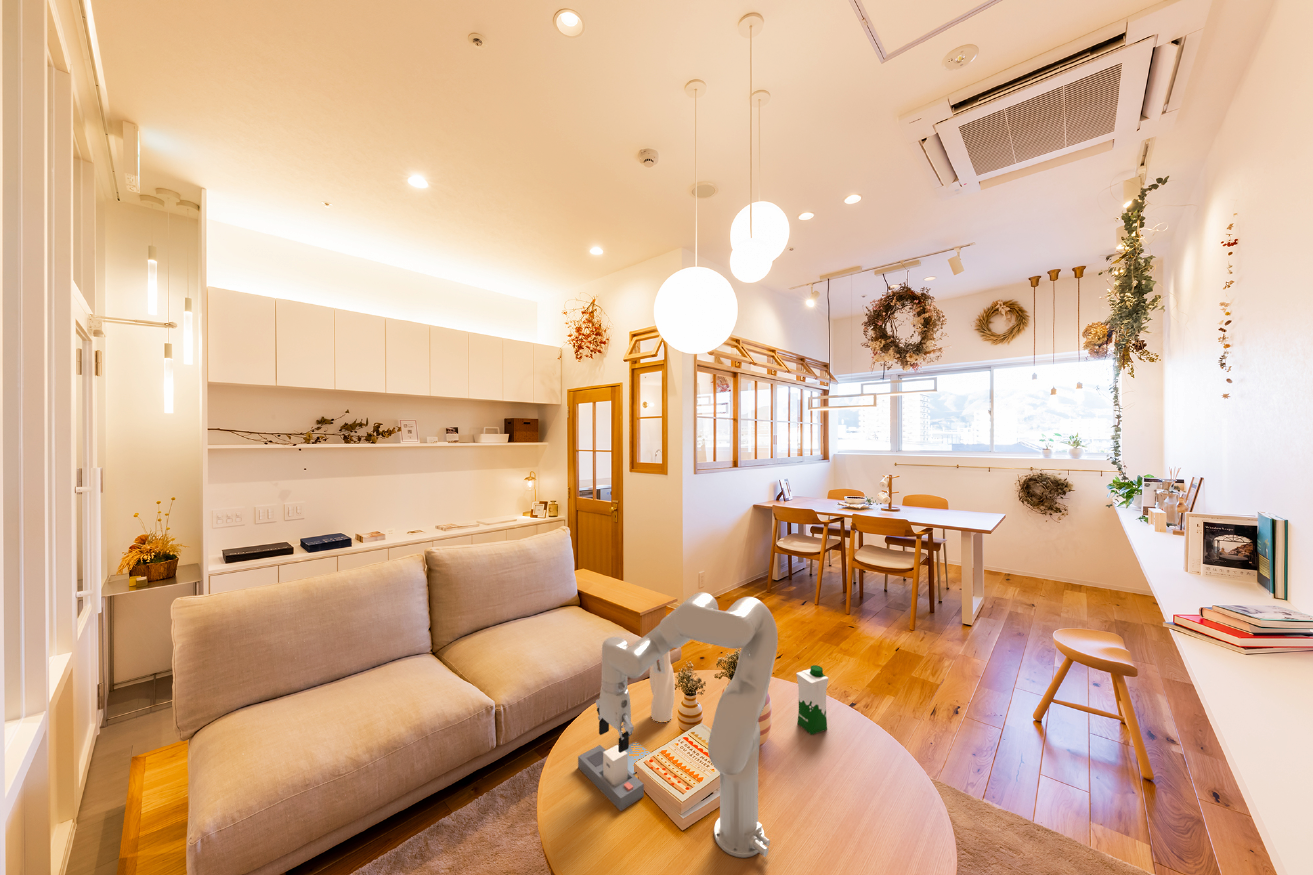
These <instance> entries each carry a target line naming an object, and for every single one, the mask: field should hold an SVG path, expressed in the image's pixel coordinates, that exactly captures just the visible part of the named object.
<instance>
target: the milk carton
mask: <svg viewBox="0 0 1313 875" xmlns="http://www.w3.org/2000/svg"><path fill="white" fill-rule="evenodd" d="M823 672H824V671H823V667H822V666H820V665H815V664H814V665H811V666H810V668H808V669H805V670H801V671H799V672H796V681H797V687H798V714H797V725H799V727H801V728H802V729H804V731H806V732H807V733H808V734H809V735H811V736H812V735H816V734H818V733H821V732H824V731H827V730H828V720H827V690H828V689H827V688H828V683H829V677H828V676H826V675H825V674H824V673H823Z"/></svg>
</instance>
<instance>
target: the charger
mask: <svg viewBox="0 0 1313 875" xmlns="http://www.w3.org/2000/svg"><path fill="white" fill-rule="evenodd" d="M618 746H619V744H616V745H614V746H612V747H610V748H609V749H605V750H606V751H604V752H603V777H604V778H605V779H606V780H607V781H608V782H609V783H610V784H611V785H612V786H613V787H614V788H616V787H618V786H619V785H621V784H623V783H624V782H626V781H628V753H627V752H625V751H623V752H621V753H619V751H618Z"/></svg>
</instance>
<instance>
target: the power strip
mask: <svg viewBox="0 0 1313 875" xmlns="http://www.w3.org/2000/svg"><path fill="white" fill-rule="evenodd" d="M606 750H607V749H605V747H604V746H602V745H601V744H598V745H597V746H595V747H593V748H591V749H589V750H588V751H586V752H583V753H581V754H580V755H578V756H577V765H578V766H577V768H578V769H579V770H580V771H581V772H582V774H584V775H585V777H587V779H589V780H590V781H591V782H592V784H594V785H595V787H596V788H598V790H599V791H601V793H602V794H603V795H604V796H605V797H606V798H607V799H608V800H609V801H610V802H611V803H612V804H613V805H614V807H616V808H617V809H618V810H619V811H620V812H623V810H625V809H627V808H628V807H630V806H631V805H633V804H634V803H636V802H637V801H638V800H641V798H644V797H645V794H644V793H645V792H644V791H645V790H644V789H645V787H644V786H645V784H644V782H642V781H641V780H640V779H639V778H638V777H637V776H635V774H634V775H633V774H632V773H631V772H630V771H629V770H628V781H626V782H624V783H623V784H621V785H619V786H618V787H616V788H614V787H613V786H612V785H611V784H610V783H609V782H608V781H607V780H606V779H605V778H604V777H603V752H604V751H606Z"/></svg>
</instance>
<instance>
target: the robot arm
mask: <svg viewBox="0 0 1313 875" xmlns="http://www.w3.org/2000/svg"><path fill="white" fill-rule="evenodd" d="M778 635H779V634H778V627H777V623H776V620H775V619H774V616H773V614H772V612H771V611H770V609H769V608H768V607H767V605H765V603H763V602H762V601H761V600H759V599H758V598H756V597H752V596H744V597H742V598H738V599H737V600H736V601H735V602H734V603H733V604H731V605H730V607H729V608H728V609H727V610H719V605H718V602H717V599H716V598H715V597H714V596H713V595H711V594H710V593H708V592H705V591H702V592H701V591H700V592H696V593H695V594H692V595H691V596H690V597H688V598H687V599H686V600H685V601H683V602H682V603H681V604H680V605H678V606H677V607H676V608H675V609H673V610H672V611H671V612H670V613H669V614H667V615H666V616H664V617H663V618H661V620H660V622H659V624H658V625H656V626H655V627H654V628H653V629H652V630H651V631H649V632H648V633H647V634H645V635H644V636H642V637H641V638H640V639H639V640H637V641H636V642H635V643H634V644H632V645H631V646H629V644H628V641H627V640H626V639H624V638H623V637H619V636H612V637H608V638H606V639H605V640H604V641H603V642H602V645H601V646H602V647H601V682H600V683H601V686H600V690H599V692H600V693H599V698H598V699H596V700H595V704H596V707H597V708H596V711H597V714H598V716H597V719H598V721H599V722H598V734H599V735H600V736H602V735H604V734H606V733H608V732H610V731H609V730H610V726H611V727H612V728H613V729H614V730H615V729H616V730H617V733H618V736H619V737H618V751H619V753H621V752H623V751H625V750H627V749H628V748H629V745H630V737H631V735H632V734H633V732H634V728H635V726H634V725H633V723H632V709H631V708H632V707H631V697H630V691H629V689H628V678H630V679H638V678H640V677H641V676H642V675H644V673H646V672H647V671H648V670H649V669H650V667H651V666H652V665H653V664H654V663H655V662H656V661H657V660H658V659H659V658H661V657H662V656H663V655H664V654H666V653H667V652H668V651H671V650H672V649H674V648H676V649H680V648H682V647H683V646H684V645H685V644H687V643H688V642H690V641H691V640H693V641H696V642H701V643H705V644H709V645H713V646H718V647H722V648H726V649H731V650H733V649H736V650H737V649H740V651H739V654H738V655H739V656H738V659H737V664H736V668H735V671H734V674H733V677H732V679H731V680H730V682H729V683H728V685H727V686H726V688H725V690H724V691H723V692H722V694H721V696H720V698H719V700H718V703H717V707H716V709H715V712H714V713H715V714H714V717H713V722H712V725H711V731H710V733H709V734H710V735H709V738H708V742H707V743H708V744H707V752H708V757H709V759H710V762H711V764H712V766H713V767H714V769H715V770H717V771H718V772H719V817H718V818H717V820H716V821H715V824H714V828H713V836H714V839H715V842H716V843H717V845H718V846H719V847H720V849H722V851H724V852H725V853H726V854H728V855H731V856H734V857H736V858H751V857H754V856H755V855H757V854H758V853H759V854H761V855H762V856H763V857H764V858H766V857H767V856H768V854H769V848H768V847H769V846H770V844H771V840H770V839H769V838H767V836H765V831H764V828H763V827H762V826H763V824H762V823H760V822H759V757H760V756H759V754H760V743H761V727H760V723H759V719H760V717H761V716H762V712H763V711H764V709H765V705H766V702H767V697H768V691H769V687H770V686H769V685H770V684H771V680H772V679H771V678H772V675H773V671H774V670H773V669H774V665H775V659H776V656H777V650H778V643H779V642H778V639H779V638H778ZM623 728H624V732H623V730H622V729H623Z"/></svg>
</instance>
